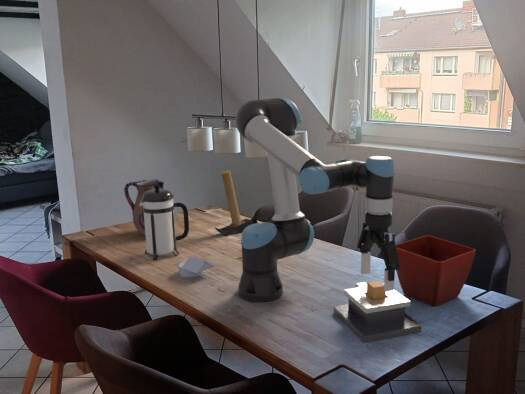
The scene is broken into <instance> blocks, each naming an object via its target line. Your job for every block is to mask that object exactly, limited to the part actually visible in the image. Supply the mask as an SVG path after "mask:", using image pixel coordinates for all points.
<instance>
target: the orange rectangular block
mask: <svg viewBox="0 0 525 394" xmlns="http://www.w3.org/2000/svg"><path fill="white" fill-rule="evenodd" d="M366 283H367V296H368V297H369V298H370V299H371V300H378V299H384V298H386V292H385V291H384V284H383V283H384V282H382V281H381V280H375V281H368V282H366Z"/></svg>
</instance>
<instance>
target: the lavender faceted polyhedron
mask: <svg viewBox="0 0 525 394" xmlns="http://www.w3.org/2000/svg"><path fill="white" fill-rule="evenodd" d="M214 267H215V265H214V264H212V263H211V262H208V261H206V260H204V259H201V258H197V257H196V256H195V257H194V256H192V255H190V256H188V259H186V260H185V261H181V262H180V263H179V264H178V274H180V275H181V276H180V275H179V276H180V277H183V278H194V277H195V276H196V277H200V276H201V275H203V274H202V273H204V271H206V270H208V269H212V268H214Z"/></svg>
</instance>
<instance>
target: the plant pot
mask: <svg viewBox="0 0 525 394" xmlns="http://www.w3.org/2000/svg"><path fill="white" fill-rule="evenodd" d="M395 245H396V250H397V254H398V259H399V264H400V269H397V270H395V273H396V274H397V275H396V276H397V278H398V283H399V284H400V288H401V289H402V293H403V294H404V295H405V296H408V297H410V298H411V299H415V300H417V301H419V302H422V303H424V304H427V306H431V307H437V306H440V305H443V304H444V303H447V302H449V301H452V300H454V299H456V298H458V297H459V295H460V294H461V291H462V290H463V288H464V286H465V283H466V281H467V280H468V277H469V275H470V271H471V269H472V266H473V263H474V260H475V256H476V251H477V250H476V249H475V248H472V247H470V246H468V245H462V244H460V243H456V242H453V241H450V240H446V239H442V238H439V237H436V236H433V235H424V236H420V237H417V238H414V239H410V240H406V241H403V242H400V243H397V244H396V243H395Z"/></svg>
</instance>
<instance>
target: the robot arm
mask: <svg viewBox="0 0 525 394" xmlns="http://www.w3.org/2000/svg"><path fill="white" fill-rule="evenodd" d="M300 123H301V116H300V111H299V109H298V106H297V105H296V104H295V103H294V102H293V101H292V100H291V99H289V98H284V97H283V98H279V97H277V98H275V97H274V98H264V99H252V100H247V101H245V102H244V103H242V105H241V106H239V109H238V110H237V111H236V114H235V126H236V129H237V131H238V133H239V134H240V135H241V137H243V139H245V140H246V141H247V142H249V143H251V144H256V145H258V147H260V148H261V149H263V151H264V152H266V153H267V158H268V159H267V160H268V168H269V176H270V184H271V189H272V190H271V192H272V200H273V207H274V215H273V216H272V217H271V222H268V221H266V222H265V221H262V222H258V223H255V224H252V225H249V226H248V227H246V228H245V229H244V230H243V232H242V233H241V242H240V245H241V259H242V260H241V261H242V262H241V263H242V265H241V266H242V272H241V275H240V280H239V282H238V286H237V287H238V288H237V290H238V291H237V292H238V293H237V294H238V296H239V297H240V298H241V299H243V300H244V301H245V300H246V301H248V302H257V303H258V302H259V303H260V302H264V303H265V302H269V301H274V300H276V299H278V298H280V297H281V296H282V295H283V294H284V293H283V292H284V291H283V290H284V288H283V283H282V280H281V278H280V274H279V272H278V260H282V259H284V258H287V257H291V256H297V255H300V254H302V253H304V252H306V251H308V250H309V249H310V248H311V247H312V245H313V243H314V239H315V230H314V226H313V225H312V224H311V222H310V221H309V219H307V218H306V215H305V213H303V212H302V211H301V210H300V209H301V208H300V201H299V194H298V186H297V178H298V185H299V187H301V190H302V191H303V192H304V193H305V194H308V195H321V194H323V193H327V192H332V191H336V190H341V189H346V188H349V187H356V188H360V189H365V198H364V199H365V201H364V202H365V204H364V205H365V206H364V210H365V212H364V222H363V223H362V230H361V233H360V237H359V238H358V242H357V249H359V252H360V255H361V257H360V258H361V260H360V274H361V275H366V274H367V275H368V274H371V257H372V256H371V254H372V253H371V249H372V247H373V246H374V243H375V244H376V247H377V248H378V249H380V253H381V256H382V259H383V261H384V265H385V268H384V272H383V273H384V274H383V276H384V278H383V281H384V282H383V283H384V291H385V292H387V291H393V290H395V279H396V278H395V277H396V276H395V275H396V270H397V269H400V264H399V259H398V254H397V250H396V241H395V240H396V239H395V238H396V237H395V235H396V234H395V233H389V228H390V227H392V225H393V213H392V211H393V203H394V199H393V198H394V191H393V190H394V177H395V169H394V168H395V166H394V164H395V163H394V160H393V158H392V157H390V156H385V155H383V156H381V155H373V156H372V155H371V156H369V157H367V158H366V161H361V160H355V159H351V158H340V159H337V160H336V161H335V162H334V163H328V164H326V163H323V162H322V161H321V160H319V159H318V158H316V157H315V156H314V155H313V154H311V153H310V152H308V151H307V150H306V149H304V147H302V146H300V145H299V144H297V143H296V142H295V141H294V139H295V137H296V134H295V131H296V130H297V129H298V128H299V125H300ZM296 177H297V178H296Z"/></svg>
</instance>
